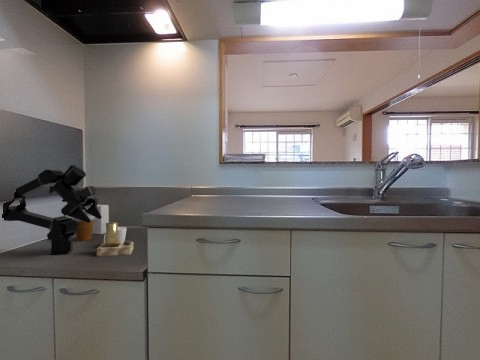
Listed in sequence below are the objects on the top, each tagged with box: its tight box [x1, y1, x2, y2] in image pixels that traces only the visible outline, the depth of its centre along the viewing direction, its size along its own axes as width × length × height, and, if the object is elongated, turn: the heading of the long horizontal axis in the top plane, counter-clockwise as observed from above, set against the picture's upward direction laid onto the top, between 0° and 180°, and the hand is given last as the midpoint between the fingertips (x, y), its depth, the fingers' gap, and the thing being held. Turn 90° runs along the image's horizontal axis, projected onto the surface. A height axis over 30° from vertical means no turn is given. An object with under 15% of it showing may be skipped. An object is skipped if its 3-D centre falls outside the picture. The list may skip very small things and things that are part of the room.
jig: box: [96, 240, 135, 257], centre depth 110 cm, size 12×9×4 cm
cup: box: [103, 226, 128, 243], centre depth 119 cm, size 7×10×8 cm
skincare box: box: [92, 204, 110, 235], centre depth 145 cm, size 8×7×16 cm
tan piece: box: [105, 221, 119, 247], centre depth 110 cm, size 4×4×12 cm
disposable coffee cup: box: [72, 213, 95, 242], centre depth 130 cm, size 10×10×12 cm
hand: (95, 220), depth 109 cm, fingers open, 9 cm apart
